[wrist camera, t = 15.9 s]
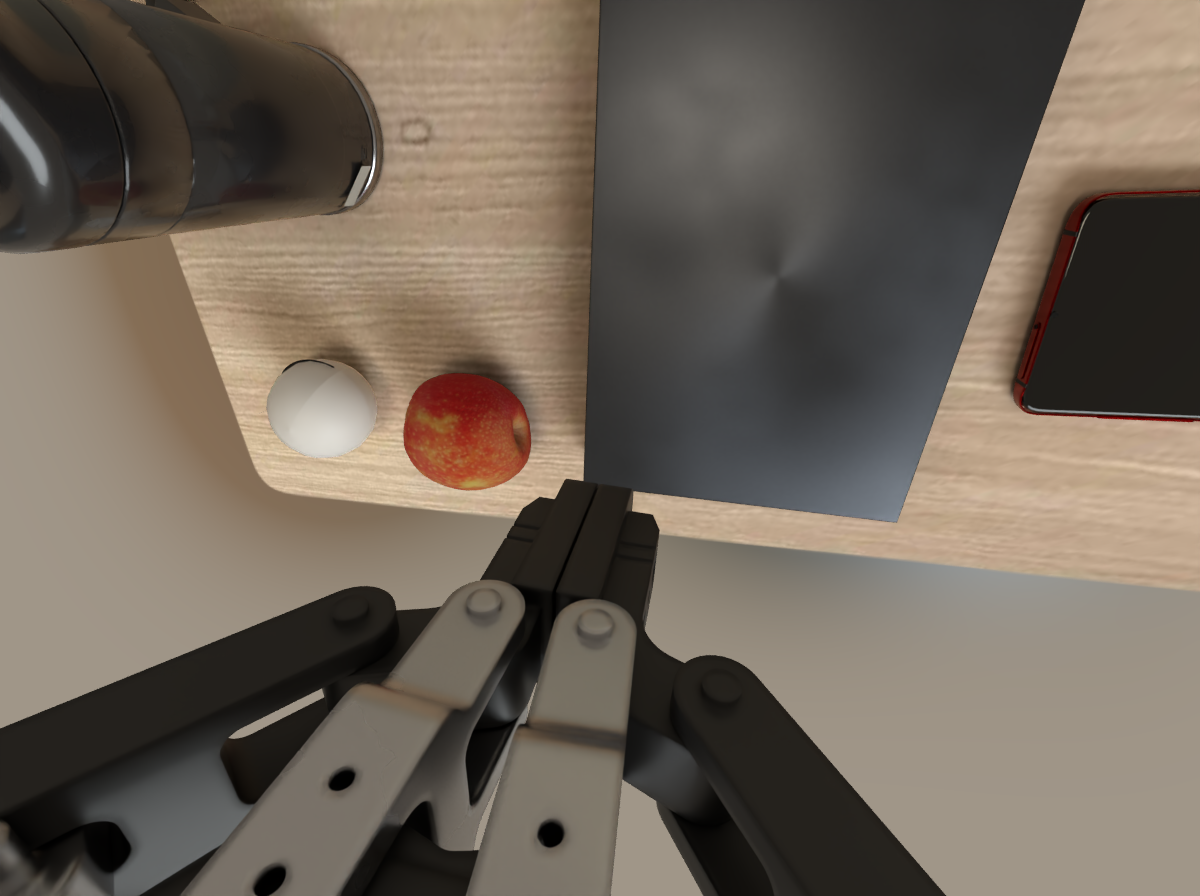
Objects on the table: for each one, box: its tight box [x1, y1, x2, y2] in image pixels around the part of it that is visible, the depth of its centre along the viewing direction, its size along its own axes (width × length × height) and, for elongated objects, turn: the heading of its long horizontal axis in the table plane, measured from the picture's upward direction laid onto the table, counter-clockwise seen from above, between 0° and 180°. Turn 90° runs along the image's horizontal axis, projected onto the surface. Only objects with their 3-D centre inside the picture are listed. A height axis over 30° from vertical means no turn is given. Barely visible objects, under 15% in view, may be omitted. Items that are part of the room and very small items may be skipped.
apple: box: [404, 373, 531, 490], centre depth 39 cm, size 8×8×8 cm
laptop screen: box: [584, 0, 1085, 522], centre depth 31 cm, size 21×30×1 cm
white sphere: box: [261, 359, 378, 458], centre depth 41 cm, size 10×7×7 cm
